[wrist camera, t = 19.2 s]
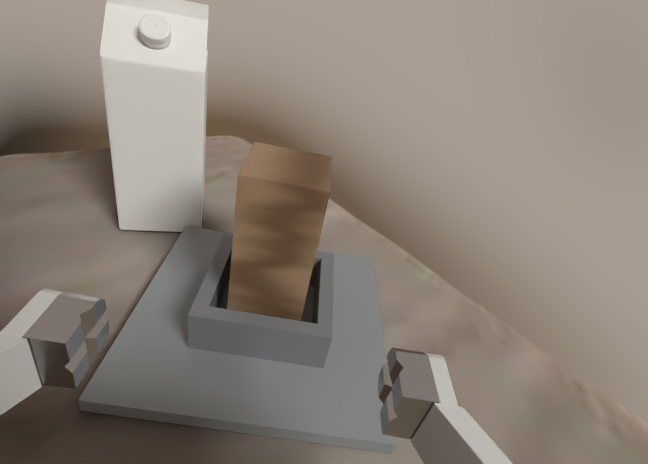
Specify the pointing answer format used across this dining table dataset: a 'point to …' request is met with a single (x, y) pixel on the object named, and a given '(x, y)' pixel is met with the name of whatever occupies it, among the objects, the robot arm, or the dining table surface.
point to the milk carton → (156, 110)
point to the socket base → (249, 353)
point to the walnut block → (277, 229)
